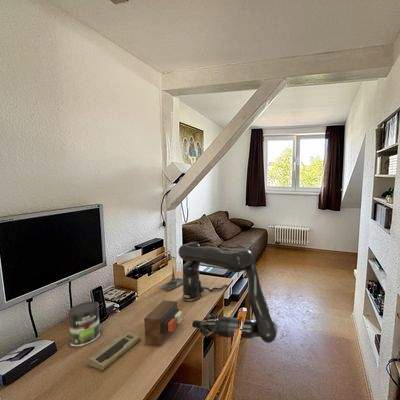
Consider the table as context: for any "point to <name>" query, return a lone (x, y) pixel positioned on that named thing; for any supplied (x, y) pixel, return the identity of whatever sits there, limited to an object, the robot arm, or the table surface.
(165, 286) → the eiffel tower figurine
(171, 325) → the terracotta key
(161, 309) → the key block
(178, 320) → the cream key
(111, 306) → the calculator
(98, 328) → the coffee can
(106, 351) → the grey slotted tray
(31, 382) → the table surface
